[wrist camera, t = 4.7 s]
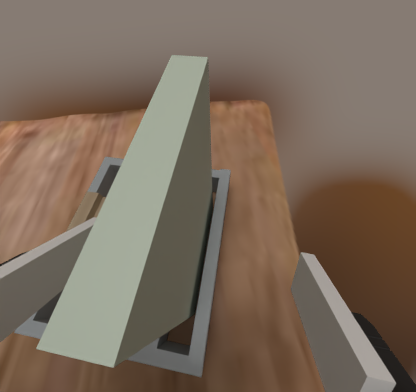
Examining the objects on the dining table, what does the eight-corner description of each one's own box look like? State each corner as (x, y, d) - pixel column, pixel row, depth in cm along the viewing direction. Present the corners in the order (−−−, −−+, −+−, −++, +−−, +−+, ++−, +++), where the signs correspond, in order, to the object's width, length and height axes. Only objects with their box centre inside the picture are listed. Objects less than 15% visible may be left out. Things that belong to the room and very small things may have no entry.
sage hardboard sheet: (177, 310, 22) (36, 348, 5) (199, 207, 28) (171, 55, 11) (194, 314, 22) (113, 367, 5) (212, 209, 28) (208, 57, 10)
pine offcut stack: (82, 277, 25) (45, 270, 19) (110, 211, 29) (87, 191, 23) (116, 283, 24) (87, 278, 19) (140, 215, 28) (122, 196, 23)
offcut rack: (46, 327, 22) (-8, 336, 17) (117, 172, 32) (98, 147, 26) (203, 363, 20) (199, 386, 15) (228, 186, 30) (231, 162, 24)
